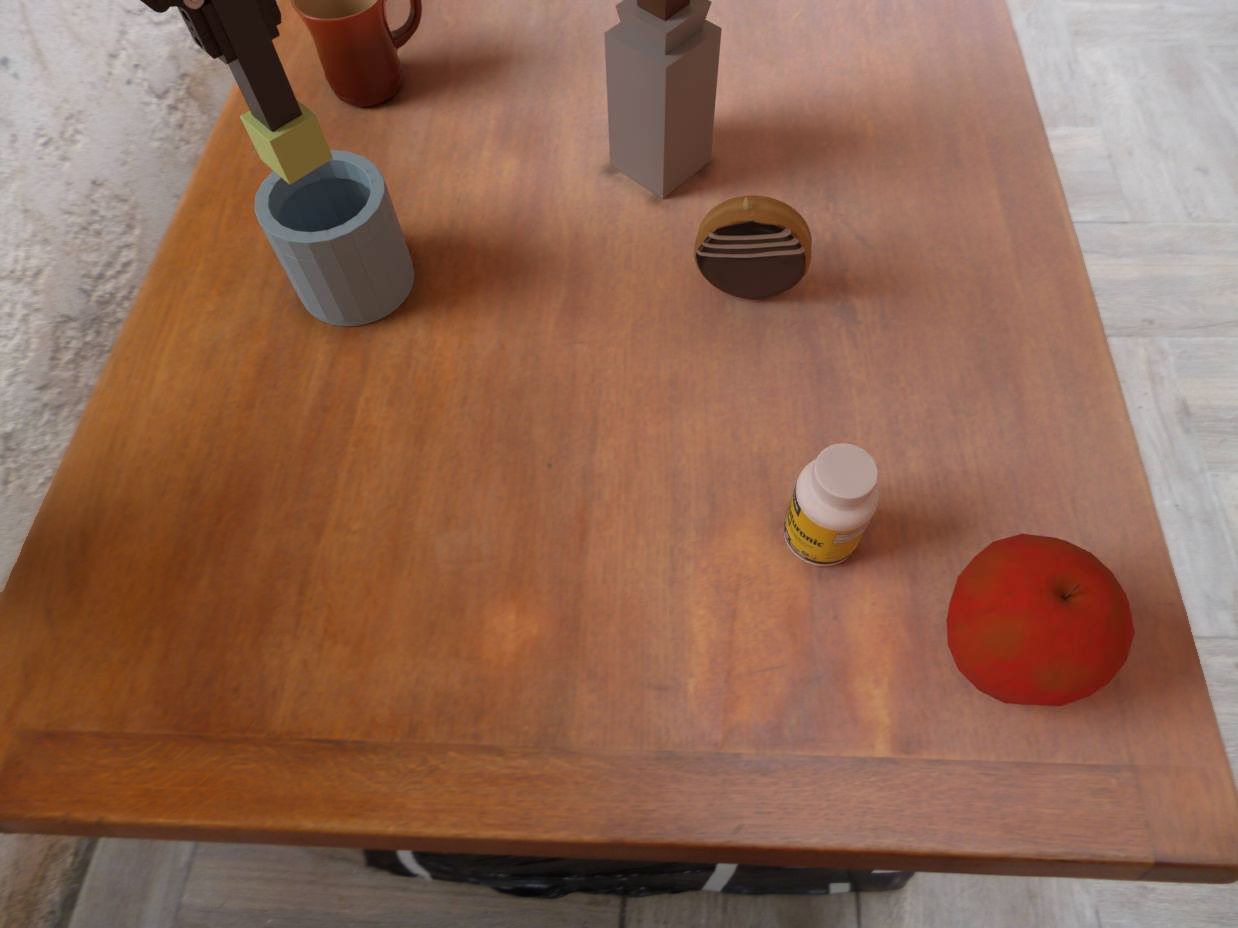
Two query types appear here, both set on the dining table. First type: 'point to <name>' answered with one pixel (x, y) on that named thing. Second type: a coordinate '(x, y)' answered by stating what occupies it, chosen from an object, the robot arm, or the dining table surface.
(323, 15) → the mug
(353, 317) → the gray tumbler
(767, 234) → the doughnut
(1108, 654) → the apple
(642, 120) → the perfume bottle
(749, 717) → the dining table surface
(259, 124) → the brush
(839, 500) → the supplement bottle
